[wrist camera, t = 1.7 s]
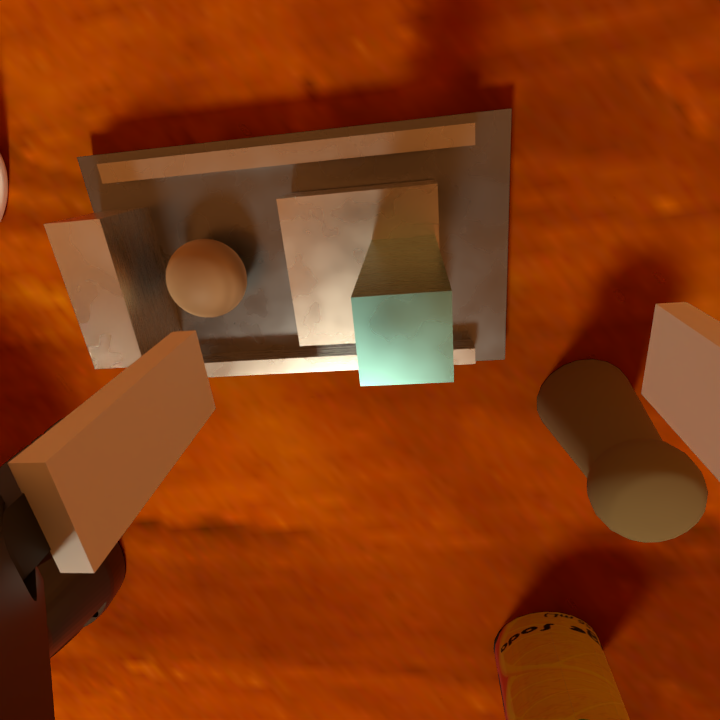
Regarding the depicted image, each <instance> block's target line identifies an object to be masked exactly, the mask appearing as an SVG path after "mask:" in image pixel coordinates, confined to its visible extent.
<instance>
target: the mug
mask: <svg viewBox="0 0 720 720" xmlns="http://www.w3.org/2000/svg"><path fill="white" fill-rule="evenodd" d="M7 198H8V176H7V170H6V166H5V163H4V160H3V158H2V156H1V154H0V222H1V219H2V217H3V214H4V211H5V208H6V204H7Z"/></svg>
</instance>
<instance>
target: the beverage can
mask: <svg viewBox="0 0 720 720" xmlns="http://www.w3.org/2000/svg"><path fill="white" fill-rule="evenodd" d="M494 653H495V659H496V665H497V671H498V677H499V682H500V688H501V694H502V700H503V706H504V712H505V718H506V720H630V719H629V717H628V714H627V711H626V709H625V706H624V704H623V701H622V698H621V696H620V693H619V691H618V688H617V686H616V683H615V680H614V678H613V675H612V673H611V670H610V667H609V665H608V662H607V660H606V657H605V654H604V652H603V649H602V647H601V644H600V641H599V639H598V636H597V635H596V633H595V632H594V630H593V628H592V627H590V626H589V625H588V624H587V623H586V622H584V621H583V620H581V619H578V618H576V617H574V616H572V615H567V614H563V613H559V612H539V613H531V614H528V615H525V616H522V617H518V618H516V619H515V620H513V621H511V622H509V623H508V624H506V625H505V626H504V627H503V628H502V629H501V630H500V631H499V633H498V635H497V636H496V638H495V642H494Z"/></svg>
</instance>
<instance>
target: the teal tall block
mask: <svg viewBox="0 0 720 720" xmlns="http://www.w3.org/2000/svg"><path fill="white" fill-rule="evenodd" d="M276 201H277V207H278V213H279V220H280V226H281V232H282V238H283V245H284V251H285V257H286V263H287V270H288V276H289V282H290V288H291V295H292V301H293V307H294V313H295V319H296V326H297V332H298V338H299V344H300V346H312V345H329V344H347V343H356V351H357V360H358V369H359V378H360V386H376V385H398V384H420V383H441V382H454V365H453V316H452V289H451V286H450V282H449V279H448V276H447V272H446V269H445V266H444V263H443V259H442V256H441V253H440V246H439V213H438V183H437V182H436V181H435V179H432V180H421V181H411V182H401V183H390V184H380V185H370V186H359V187H349V188H339V189H328V190H318V191H308V192H297V193H289V194H287V195H284V196H282V197H280V198H277V199H276Z"/></svg>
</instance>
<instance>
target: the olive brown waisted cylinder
mask: <svg viewBox="0 0 720 720" xmlns="http://www.w3.org/2000/svg"><path fill="white" fill-rule="evenodd" d="M537 411H538V413H539V416H540V418H541V420H542V422H543V423H544V424H545V425H546V427H547V428H548V429H549V431H550V432H551V433H552V434H553V436H554V437H555V438H556V439H557V441H558V442H559V443H560V444H561V446H562V447H563V448H564V449H565V451H566V452H567V453H568V454H569V456H570V457H571V458H572V459H573V461H574V462H575V463H576V464H577V466H578V467H579V468H580V469H581V471H582V472H583V473H584V474H585V476H586V477H587V492H588V497H589V499H590V502H591V505H592V507H593V509H594V511H595V513H596V515H597V516H598V517H599V518H600V519H601V520H602V521H603V522H604V523H605V524H606V525H607V526H608V527H609V528H610V530H612V531H614V532H616V533H618V534H620V535H622V536H623V537H626V538H628V539H630V540H634V541H639V542H644V543H645V542H661V541H665V540H669V539H673V538H675V537H677V536H679V535H681V534H683V533H685V532H687V531H688V530H690V529H691V528H692V527H693V526H694V525H695V524H697V523H698V521H699V520H700V518H701V517H702V515H703V513H704V512H705V508H706V502H707V495H708V491H707V487H706V483H705V480H704V477H703V475H702V473H701V471H700V470H699V468H698V467H697V466H696V465H695V464H694V462H693V461H692V460H691V459H690V458H689V457H688V456H687V455H686V454H685V453H684V452H682V451H680V450H679V449H677V448H675V447H673V446H671V445H670V444H668V443H666V442H664V441H662V439H661V437H660V435H659V434H658V432H657V430H656V428H655V427H654V425H653V423H652V421H651V420H650V418H649V416H648V414H647V412H646V411H645V409H644V407H643V405H642V404H641V402H640V400H639V398H638V397H637V395H636V393H635V391H634V389H633V388H632V386H631V384H630V382H629V381H628V379H627V377H626V376H625V375H624V374H623V373H622V371H621V370H620V369H619V368H617V367H615V366H614V365H612V364H610V363H608V362H605V361H600V360H595V359H587V360H577V361H574V362H572V363H569V364H566V365H563V366H562V367H560V368H559V369H557V370H556V371H555V372H553V373H552V374H550V376H549V377H548V378H547V379H546V381H545V382H544V383H543V384H542V386H541V388H540V391H539V394H538V396H537Z"/></svg>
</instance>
